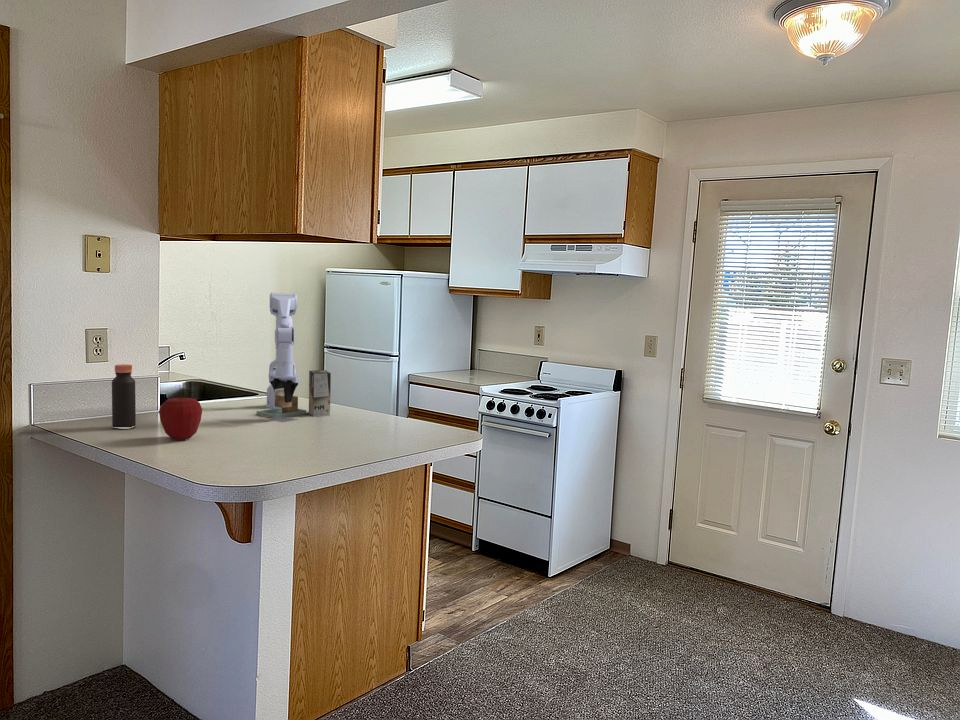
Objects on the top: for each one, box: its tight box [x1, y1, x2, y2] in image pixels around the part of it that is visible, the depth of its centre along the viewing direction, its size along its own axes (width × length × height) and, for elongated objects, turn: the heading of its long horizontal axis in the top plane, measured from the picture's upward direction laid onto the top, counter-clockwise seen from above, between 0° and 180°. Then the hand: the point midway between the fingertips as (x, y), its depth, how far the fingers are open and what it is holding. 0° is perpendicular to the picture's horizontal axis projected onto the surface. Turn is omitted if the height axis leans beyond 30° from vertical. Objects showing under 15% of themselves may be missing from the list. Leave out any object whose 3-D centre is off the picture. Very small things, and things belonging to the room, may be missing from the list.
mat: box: [269, 416, 299, 423], centre depth 254 cm, size 7×7×1 cm
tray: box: [256, 408, 307, 419], centre depth 265 cm, size 10×14×2 cm
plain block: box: [282, 395, 299, 413], centre depth 267 cm, size 4×4×6 cm
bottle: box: [111, 363, 137, 427], centre depth 232 cm, size 7×7×20 cm
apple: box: [158, 395, 203, 441], centre depth 219 cm, size 12×12×13 cm
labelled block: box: [275, 388, 292, 408], centre depth 253 cm, size 4×4×6 cm
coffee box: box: [308, 369, 332, 417], centre depth 267 cm, size 9×6×16 cm
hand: (284, 401), depth 254 cm, fingers closed on labelled block, 4 cm apart
